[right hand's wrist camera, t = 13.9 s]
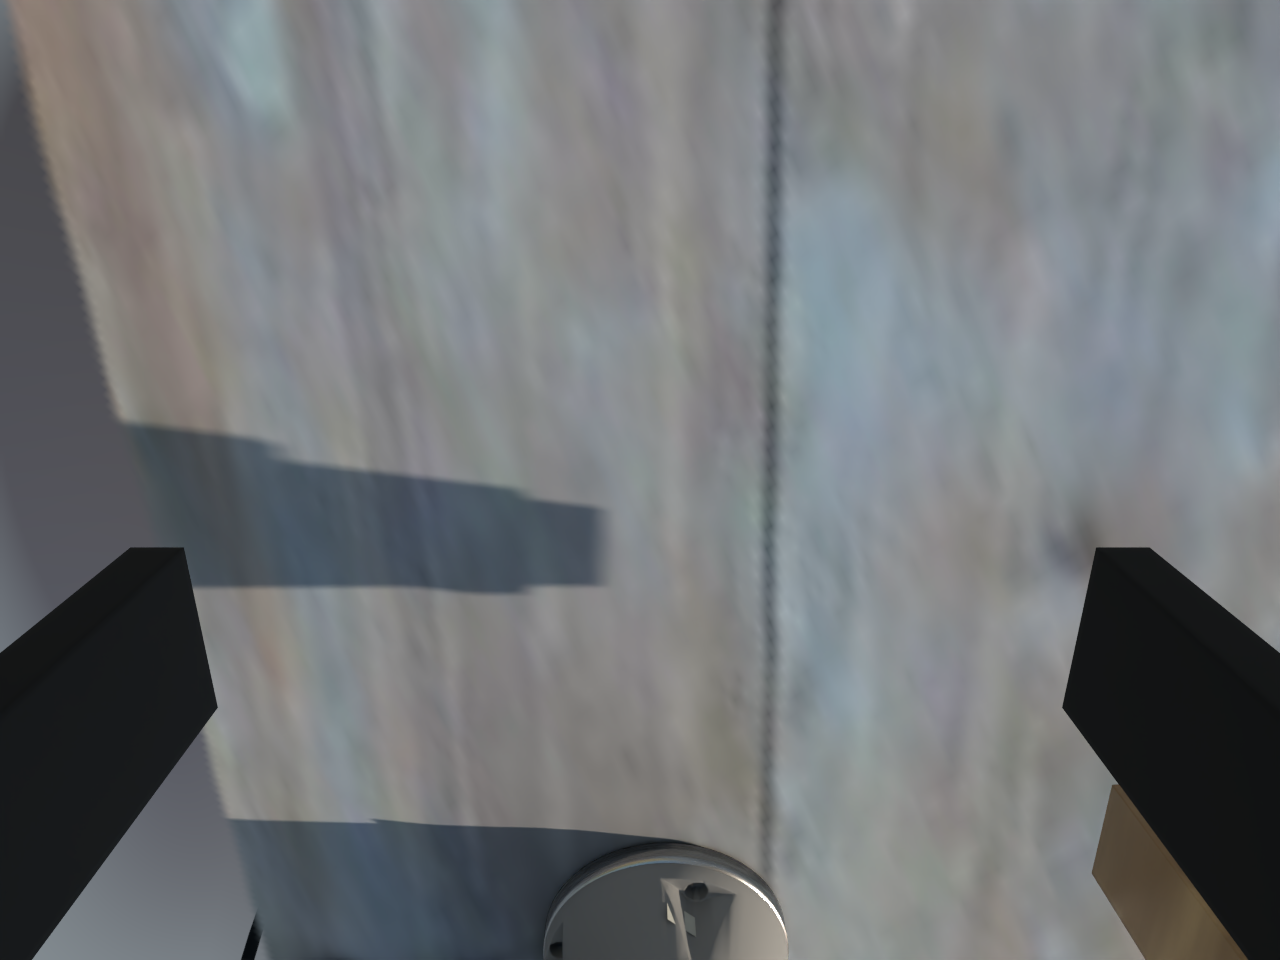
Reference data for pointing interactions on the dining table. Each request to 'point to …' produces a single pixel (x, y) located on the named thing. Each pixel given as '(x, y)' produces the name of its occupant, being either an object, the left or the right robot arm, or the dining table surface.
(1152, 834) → the bar
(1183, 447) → the dining table surface
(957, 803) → the dining table surface
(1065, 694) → the right robot arm
